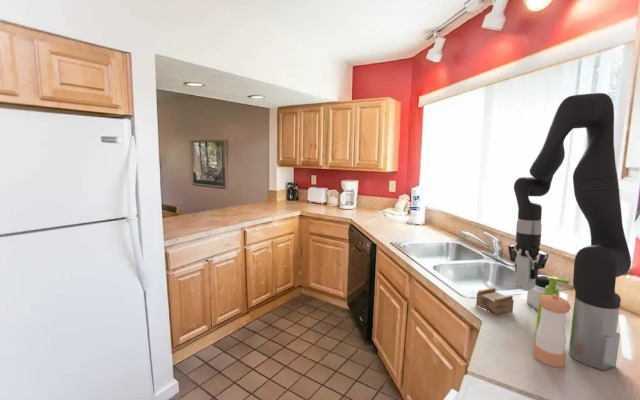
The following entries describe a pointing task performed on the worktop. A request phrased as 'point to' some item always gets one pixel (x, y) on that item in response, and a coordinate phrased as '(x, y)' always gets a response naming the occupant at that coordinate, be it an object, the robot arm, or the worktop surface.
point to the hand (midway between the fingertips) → (525, 276)
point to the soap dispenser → (549, 292)
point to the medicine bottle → (537, 290)
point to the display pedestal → (495, 302)
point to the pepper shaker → (551, 331)
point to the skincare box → (524, 274)
